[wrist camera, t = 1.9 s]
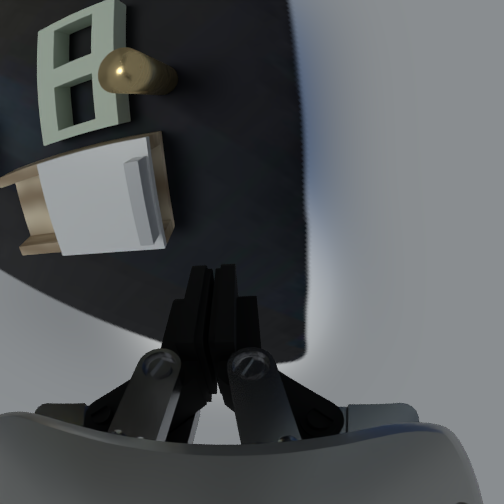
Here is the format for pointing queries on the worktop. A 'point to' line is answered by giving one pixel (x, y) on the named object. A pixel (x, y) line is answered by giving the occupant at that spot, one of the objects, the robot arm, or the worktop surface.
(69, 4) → the worktop surface
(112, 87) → the pin
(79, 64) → the board
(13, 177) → the tray
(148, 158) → the cover
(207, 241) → the worktop surface
